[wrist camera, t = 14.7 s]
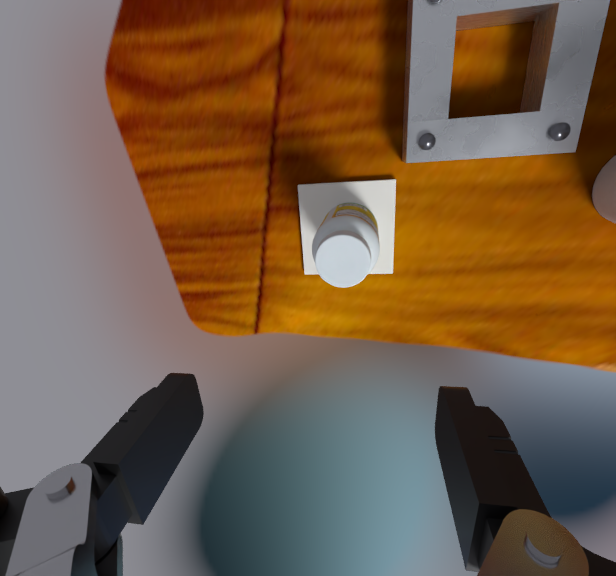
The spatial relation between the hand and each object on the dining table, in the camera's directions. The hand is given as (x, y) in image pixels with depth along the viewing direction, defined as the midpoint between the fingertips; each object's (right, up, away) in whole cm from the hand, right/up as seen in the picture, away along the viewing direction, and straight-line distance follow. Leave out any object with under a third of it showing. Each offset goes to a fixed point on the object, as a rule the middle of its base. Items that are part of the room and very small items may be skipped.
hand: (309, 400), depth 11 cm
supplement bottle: (+4, +9, +21) cm, 24 cm away
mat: (+4, +9, +22) cm, 24 cm away
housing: (+14, +21, +15) cm, 29 cm away
